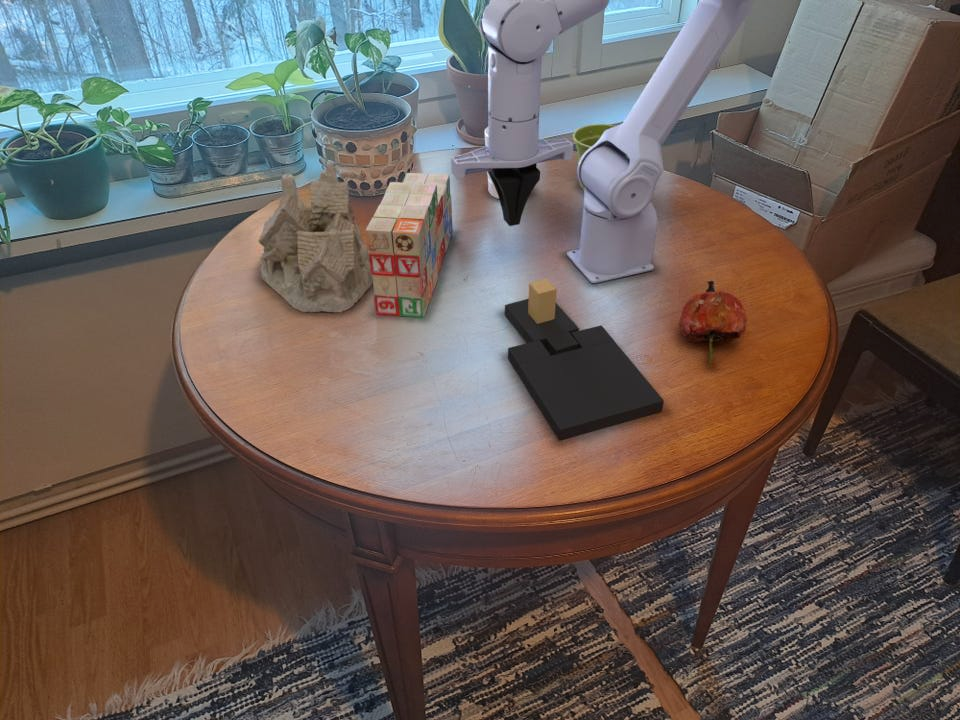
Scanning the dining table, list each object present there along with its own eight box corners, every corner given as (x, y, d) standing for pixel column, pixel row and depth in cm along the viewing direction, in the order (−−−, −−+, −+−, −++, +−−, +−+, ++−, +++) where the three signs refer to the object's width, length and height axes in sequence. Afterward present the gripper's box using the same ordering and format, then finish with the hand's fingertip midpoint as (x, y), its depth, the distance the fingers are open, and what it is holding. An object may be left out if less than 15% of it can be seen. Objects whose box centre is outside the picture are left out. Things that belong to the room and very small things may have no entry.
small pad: (589, 350, 83) (593, 309, 79) (543, 364, 81) (546, 322, 77) (546, 303, 90) (549, 263, 86) (504, 315, 88) (505, 274, 85)
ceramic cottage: (278, 241, 102) (258, 145, 92) (389, 255, 100) (380, 158, 90) (233, 309, 91) (204, 208, 81) (356, 326, 89) (342, 225, 79)
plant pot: (612, 206, 110) (619, 153, 104) (559, 191, 114) (562, 139, 108) (636, 183, 116) (644, 131, 110) (585, 169, 120) (589, 119, 114)
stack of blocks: (411, 230, 105) (405, 151, 97) (453, 233, 104) (450, 153, 96) (375, 315, 89) (364, 228, 81) (424, 319, 88) (418, 232, 80)
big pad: (661, 411, 75) (664, 400, 74) (559, 441, 72) (560, 429, 71) (600, 335, 85) (601, 325, 84) (507, 358, 82) (507, 347, 81)
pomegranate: (740, 375, 83) (748, 294, 85) (744, 359, 76) (753, 272, 78) (675, 368, 85) (684, 289, 87) (673, 352, 78) (684, 268, 80)
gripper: (557, 92, 84) (551, 197, 92) (440, 109, 80) (445, 217, 89) (584, 113, 78) (575, 222, 87) (461, 132, 75) (464, 244, 83)
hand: (511, 221), depth 88 cm, fingers closed
